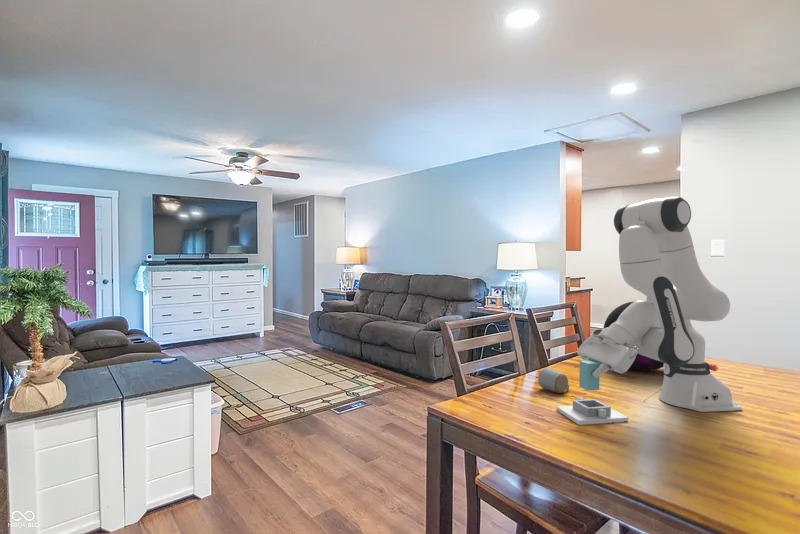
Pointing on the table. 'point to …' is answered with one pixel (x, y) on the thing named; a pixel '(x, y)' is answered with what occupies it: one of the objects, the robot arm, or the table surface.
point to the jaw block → (588, 375)
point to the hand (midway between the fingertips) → (587, 373)
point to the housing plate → (591, 412)
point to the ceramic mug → (553, 380)
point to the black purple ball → (640, 360)
